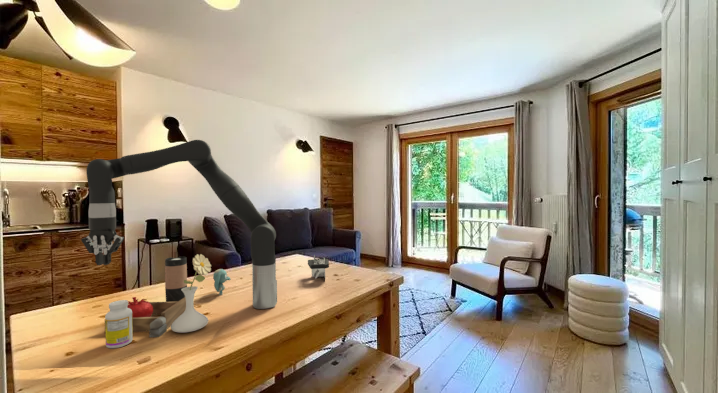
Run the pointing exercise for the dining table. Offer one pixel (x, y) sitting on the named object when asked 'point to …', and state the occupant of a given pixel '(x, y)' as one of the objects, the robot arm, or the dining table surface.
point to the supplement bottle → (118, 324)
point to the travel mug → (175, 278)
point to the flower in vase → (191, 317)
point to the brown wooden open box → (162, 323)
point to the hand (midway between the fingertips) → (103, 264)
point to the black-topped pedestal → (318, 266)
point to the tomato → (140, 308)
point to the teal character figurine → (220, 280)
